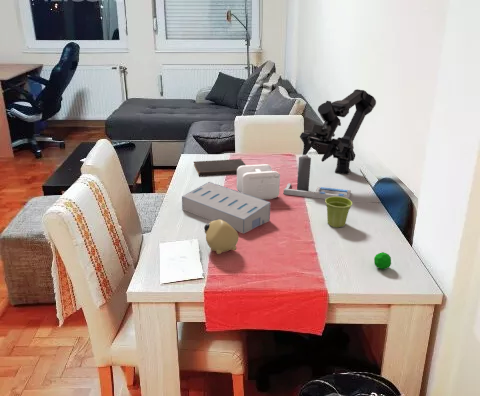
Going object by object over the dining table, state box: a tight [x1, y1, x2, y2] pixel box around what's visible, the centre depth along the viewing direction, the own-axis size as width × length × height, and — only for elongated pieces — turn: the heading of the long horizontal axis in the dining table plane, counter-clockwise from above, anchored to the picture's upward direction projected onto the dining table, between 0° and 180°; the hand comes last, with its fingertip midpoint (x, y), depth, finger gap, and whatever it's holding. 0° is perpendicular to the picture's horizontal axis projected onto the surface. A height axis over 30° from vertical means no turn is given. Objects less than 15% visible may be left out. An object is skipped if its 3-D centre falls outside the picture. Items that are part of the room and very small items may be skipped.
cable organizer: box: [236, 163, 281, 201], centre depth 198 cm, size 15×11×12 cm
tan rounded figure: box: [204, 219, 239, 255], centre depth 155 cm, size 10×12×11 cm
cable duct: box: [283, 182, 351, 200], centre depth 204 cm, size 12×26×2 cm, turn 74°
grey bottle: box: [296, 154, 312, 191], centre depth 204 cm, size 5×5×15 cm
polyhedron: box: [373, 251, 392, 270], centre depth 148 cm, size 5×5×5 cm
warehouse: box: [181, 181, 271, 235], centre depth 181 cm, size 30×14×8 cm, turn 49°
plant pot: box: [324, 197, 353, 228], centre depth 175 cm, size 9×9×9 cm
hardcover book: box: [193, 158, 246, 177], centre depth 230 cm, size 16×23×2 cm
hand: (312, 158), depth 206 cm, fingers open, 9 cm apart
